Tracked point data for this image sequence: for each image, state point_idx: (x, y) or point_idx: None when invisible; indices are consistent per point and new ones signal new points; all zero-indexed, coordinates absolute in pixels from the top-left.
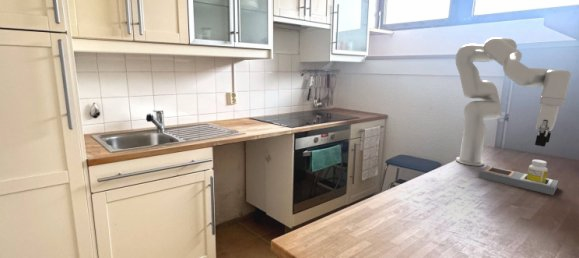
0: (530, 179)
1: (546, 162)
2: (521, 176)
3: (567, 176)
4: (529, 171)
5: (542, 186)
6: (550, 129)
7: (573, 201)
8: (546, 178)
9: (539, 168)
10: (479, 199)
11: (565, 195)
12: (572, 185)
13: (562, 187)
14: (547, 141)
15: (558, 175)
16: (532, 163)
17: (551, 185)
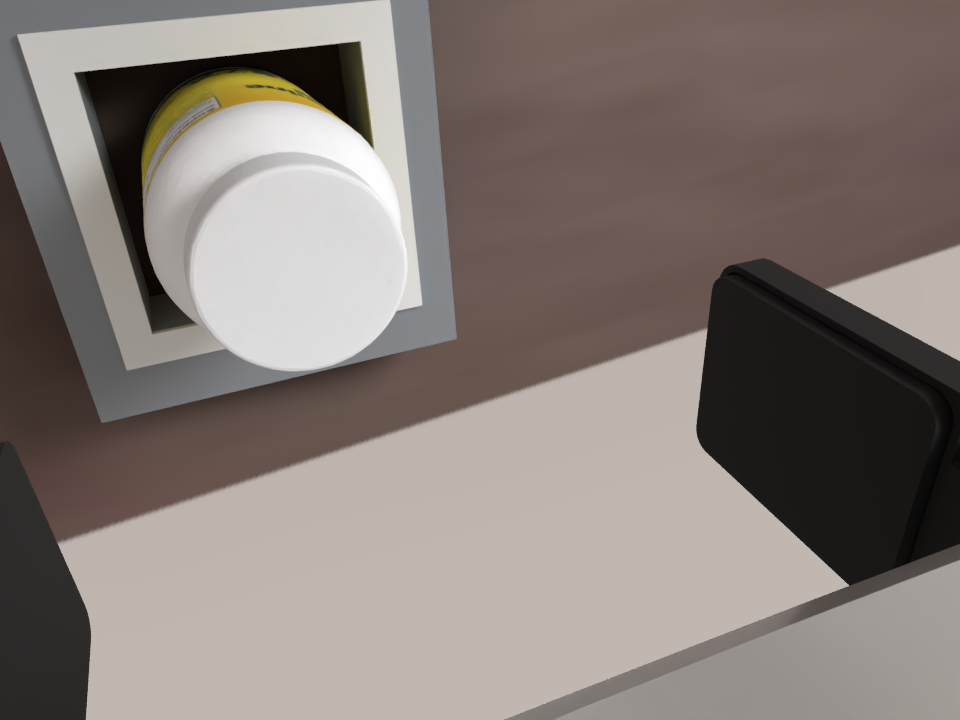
0: (147, 149)
1: (315, 369)
2: (213, 2)
3: (869, 238)
4: (171, 133)
5: (63, 313)
6: None
7: (111, 525)
8: (416, 247)
9: (175, 290)
10: None
11: (237, 431)
12: (622, 350)
13: (485, 329)
14: (711, 437)
15: (854, 182)
16: (222, 177)
17: (174, 371)
